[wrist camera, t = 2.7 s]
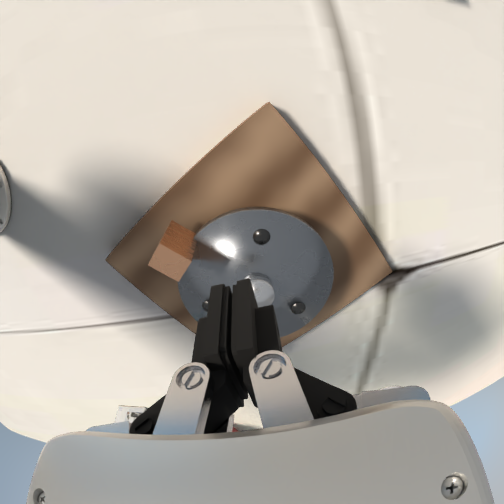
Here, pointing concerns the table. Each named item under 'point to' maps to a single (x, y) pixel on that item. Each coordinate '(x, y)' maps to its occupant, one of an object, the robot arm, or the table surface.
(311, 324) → the pivot base
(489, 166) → the table surface
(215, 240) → the flange plate
